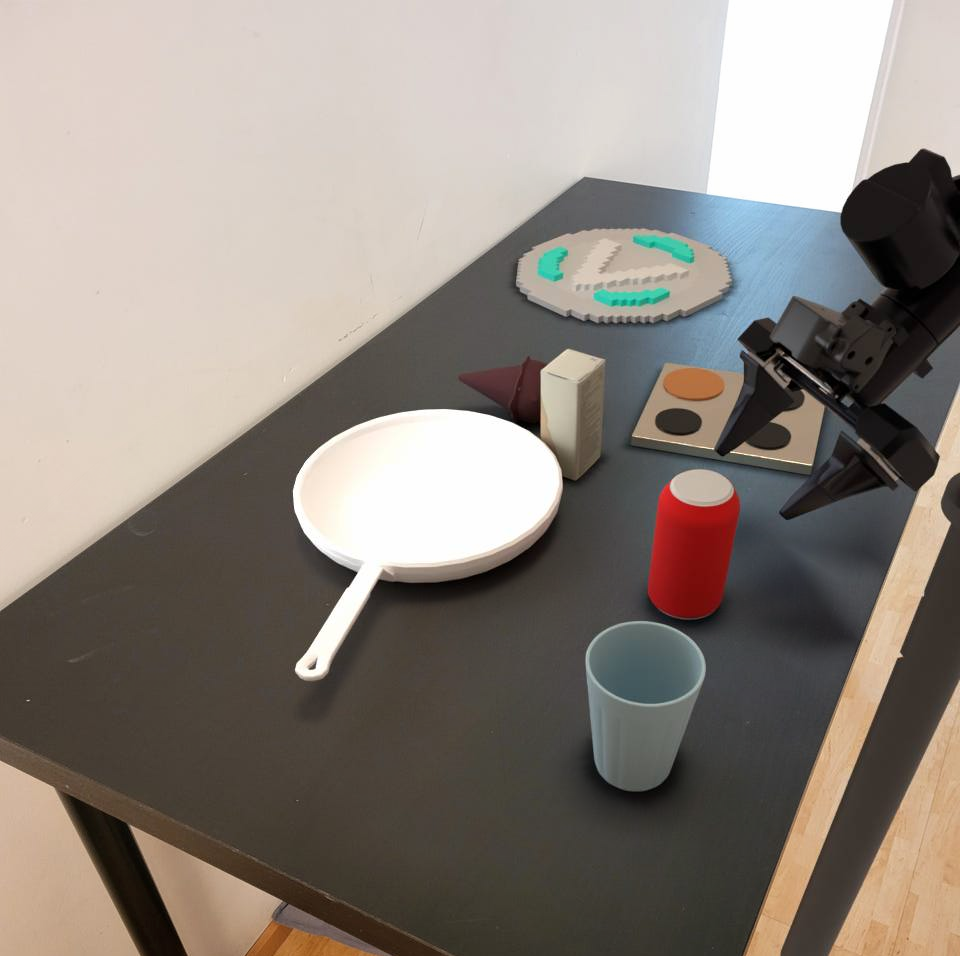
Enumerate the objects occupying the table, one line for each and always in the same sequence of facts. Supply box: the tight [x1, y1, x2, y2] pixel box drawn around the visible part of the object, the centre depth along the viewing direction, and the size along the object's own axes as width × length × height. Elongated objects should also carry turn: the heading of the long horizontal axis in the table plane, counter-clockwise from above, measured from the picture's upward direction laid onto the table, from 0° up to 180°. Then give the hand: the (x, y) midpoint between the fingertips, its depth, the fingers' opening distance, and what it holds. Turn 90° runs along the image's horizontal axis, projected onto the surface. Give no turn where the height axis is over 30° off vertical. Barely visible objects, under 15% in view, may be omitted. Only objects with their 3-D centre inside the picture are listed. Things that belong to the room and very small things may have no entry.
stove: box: [630, 362, 829, 476], centre depth 99 cm, size 18×16×1 cm
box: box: [540, 348, 606, 481], centre depth 91 cm, size 5×4×11 cm
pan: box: [292, 408, 564, 682], centre depth 83 cm, size 25×39×4 cm, turn 162°
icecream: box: [457, 355, 549, 424], centre depth 99 cm, size 7×7×15 cm
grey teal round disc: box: [515, 227, 733, 324], centre depth 125 cm, size 28×28×2 cm
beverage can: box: [647, 469, 741, 620], centre depth 75 cm, size 6×6×12 cm
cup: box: [584, 620, 707, 792], centre depth 64 cm, size 8×8×10 cm
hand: (748, 483), depth 73 cm, fingers open, 9 cm apart
